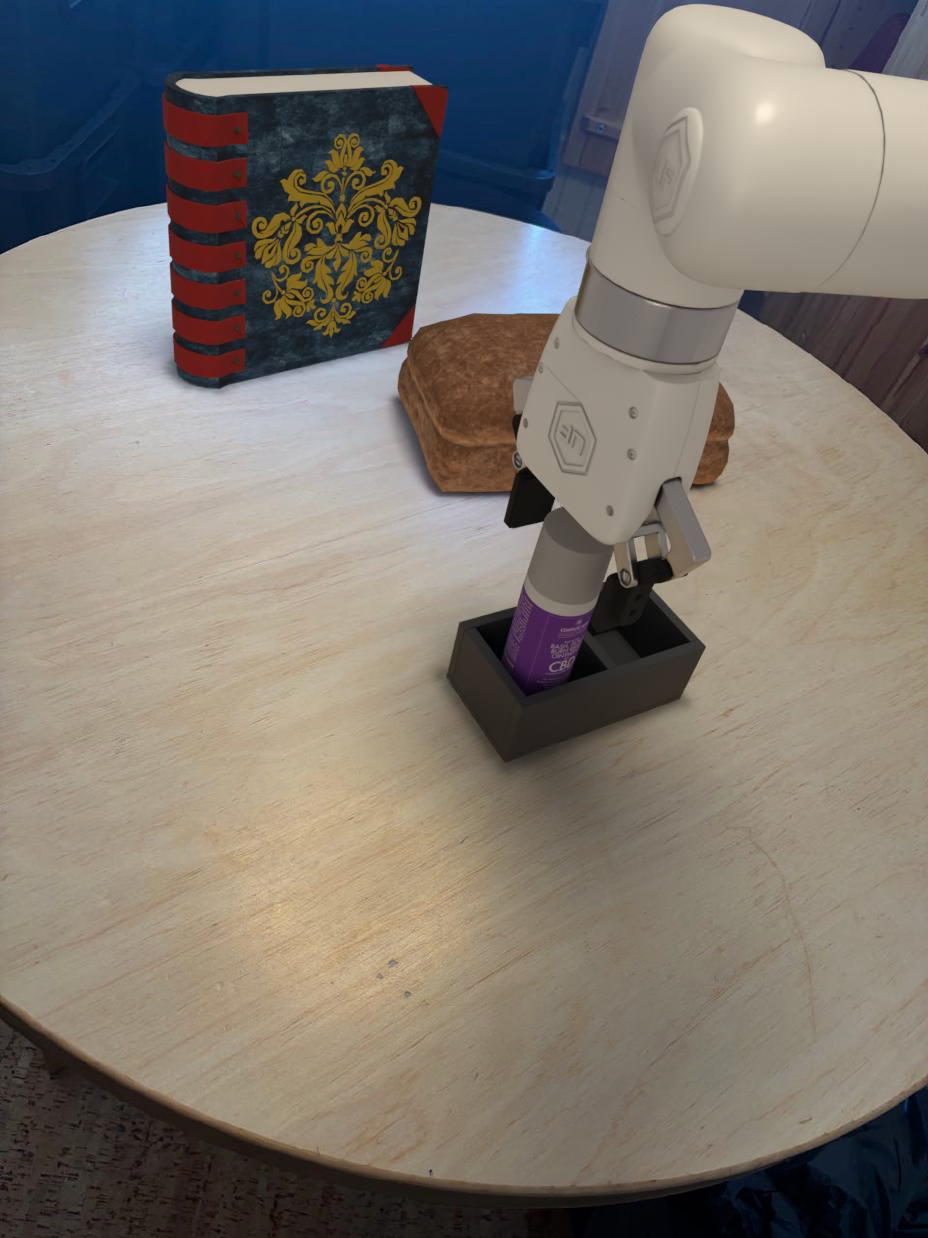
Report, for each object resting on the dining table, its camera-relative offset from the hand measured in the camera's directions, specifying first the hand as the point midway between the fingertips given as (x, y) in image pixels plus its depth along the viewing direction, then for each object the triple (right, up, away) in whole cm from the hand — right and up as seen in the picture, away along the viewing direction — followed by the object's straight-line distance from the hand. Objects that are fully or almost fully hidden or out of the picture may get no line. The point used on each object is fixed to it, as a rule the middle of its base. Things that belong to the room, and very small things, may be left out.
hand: (567, 570), depth 58 cm
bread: (+2, +14, +34) cm, 36 cm away
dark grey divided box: (+1, -8, +10) cm, 13 cm away
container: (-2, -8, +8) cm, 12 cm away
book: (-23, +24, +37) cm, 50 cm away
